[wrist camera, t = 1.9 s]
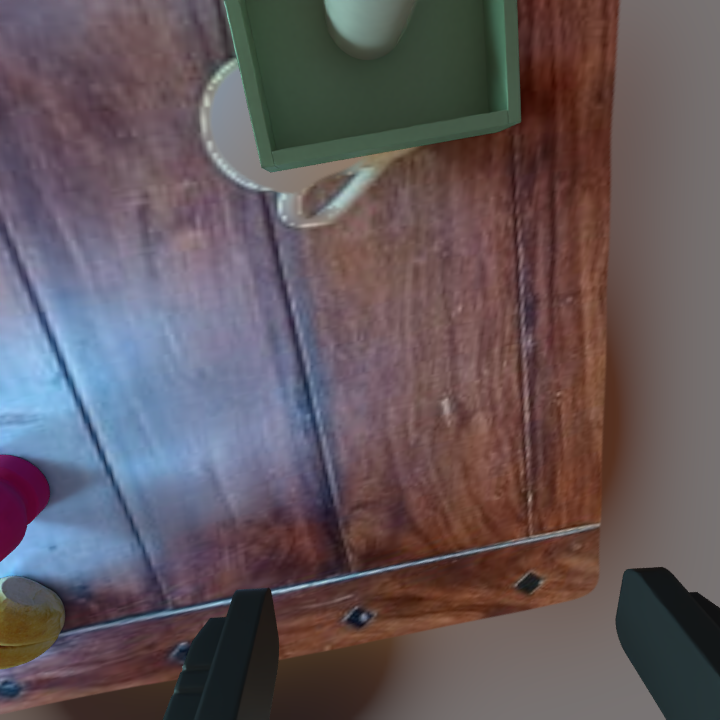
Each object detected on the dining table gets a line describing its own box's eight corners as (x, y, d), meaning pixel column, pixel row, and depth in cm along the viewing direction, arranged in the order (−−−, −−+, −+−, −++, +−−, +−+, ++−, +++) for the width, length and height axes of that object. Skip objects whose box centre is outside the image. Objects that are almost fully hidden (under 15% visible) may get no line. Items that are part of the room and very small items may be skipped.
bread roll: (-43, 623, 41) (-81, 666, 37) (-6, 560, 39) (-43, 598, 35) (44, 656, 43) (16, 700, 39) (84, 598, 40) (58, 638, 37)
